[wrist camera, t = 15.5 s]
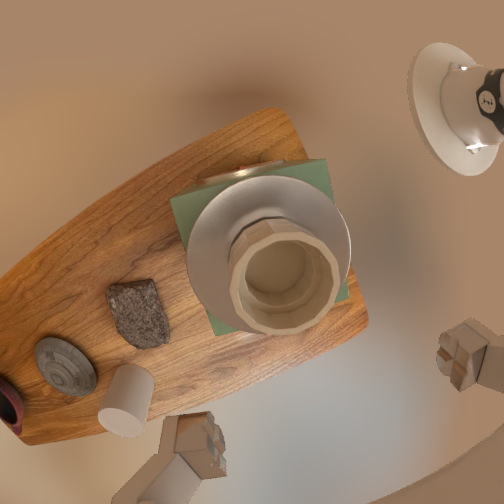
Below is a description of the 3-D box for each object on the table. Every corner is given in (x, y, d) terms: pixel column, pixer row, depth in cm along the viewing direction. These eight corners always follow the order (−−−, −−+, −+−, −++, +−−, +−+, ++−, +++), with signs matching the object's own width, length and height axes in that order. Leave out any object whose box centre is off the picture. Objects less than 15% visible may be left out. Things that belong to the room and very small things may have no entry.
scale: (274, 156, 41) (333, 147, 19) (294, 239, 44) (358, 308, 22) (193, 177, 40) (160, 191, 18) (217, 259, 44) (215, 350, 22)
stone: (108, 283, 44) (100, 292, 40) (158, 276, 44) (153, 284, 41) (128, 343, 47) (123, 355, 43) (175, 338, 47) (172, 351, 44)
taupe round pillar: (110, 382, 49) (93, 423, 38) (122, 357, 48) (104, 400, 36) (145, 400, 51) (135, 443, 40) (160, 377, 50) (150, 423, 38)
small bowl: (307, 206, 20) (330, 218, 15) (322, 289, 22) (345, 318, 17) (217, 230, 20) (215, 249, 15) (242, 312, 21) (247, 347, 17)
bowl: (-12, 377, 47) (-25, 393, 39) (4, 365, 46) (-11, 384, 39) (26, 419, 52) (16, 437, 44) (46, 412, 51) (35, 433, 44)
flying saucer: (34, 324, 44) (21, 337, 39) (98, 347, 47) (88, 364, 41) (42, 377, 48) (33, 392, 43) (100, 399, 50) (93, 416, 45)
